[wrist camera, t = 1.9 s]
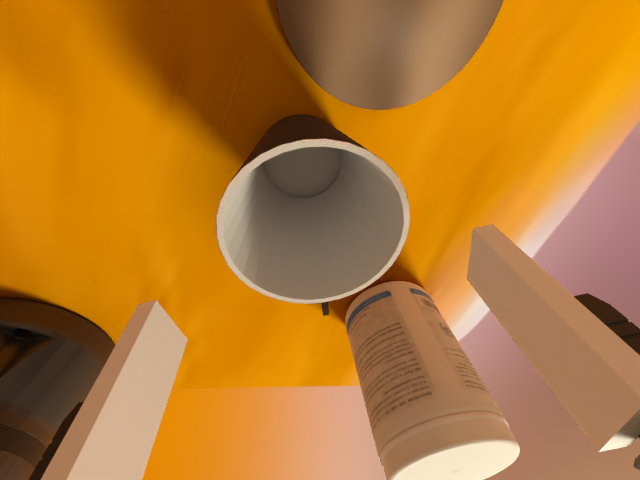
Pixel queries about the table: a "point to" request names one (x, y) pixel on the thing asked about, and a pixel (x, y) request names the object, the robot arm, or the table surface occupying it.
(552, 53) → the table surface
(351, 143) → the coffee mug
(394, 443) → the supplement tub
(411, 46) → the walnut base
